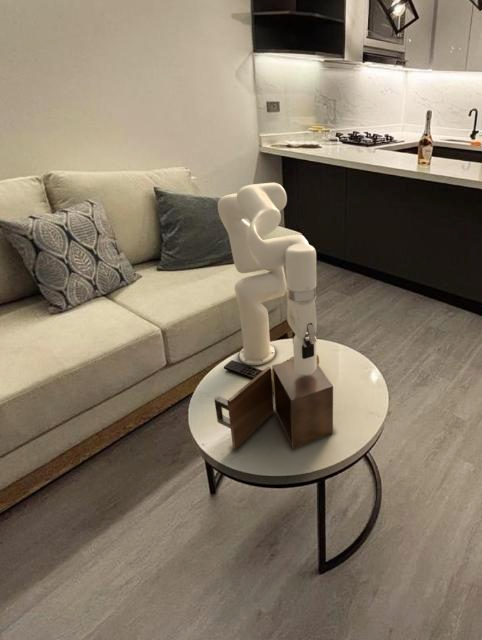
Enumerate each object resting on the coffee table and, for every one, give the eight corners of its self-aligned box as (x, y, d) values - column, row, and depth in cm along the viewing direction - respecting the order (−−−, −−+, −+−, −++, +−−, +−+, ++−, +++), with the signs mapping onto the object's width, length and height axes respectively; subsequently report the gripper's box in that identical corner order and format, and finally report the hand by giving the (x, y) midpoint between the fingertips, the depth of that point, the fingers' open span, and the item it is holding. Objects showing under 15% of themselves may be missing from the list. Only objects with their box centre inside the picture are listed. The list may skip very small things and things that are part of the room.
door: (214, 438, 114) (208, 391, 107) (254, 402, 127) (250, 358, 121) (235, 449, 111) (230, 401, 104) (273, 412, 124) (271, 367, 117)
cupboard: (293, 449, 112) (291, 400, 105) (275, 411, 124) (272, 365, 118) (332, 433, 117) (333, 386, 111) (311, 398, 130) (310, 354, 124)
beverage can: (313, 360, 118) (312, 325, 113) (319, 374, 112) (318, 337, 108) (292, 365, 115) (290, 329, 111) (297, 379, 110) (295, 342, 105)
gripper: (276, 280, 109) (279, 337, 116) (300, 310, 95) (301, 372, 102) (303, 275, 113) (304, 330, 120) (329, 303, 99) (329, 364, 106)
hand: (303, 349), depth 111 cm, fingers closed on beverage can, 6 cm apart
